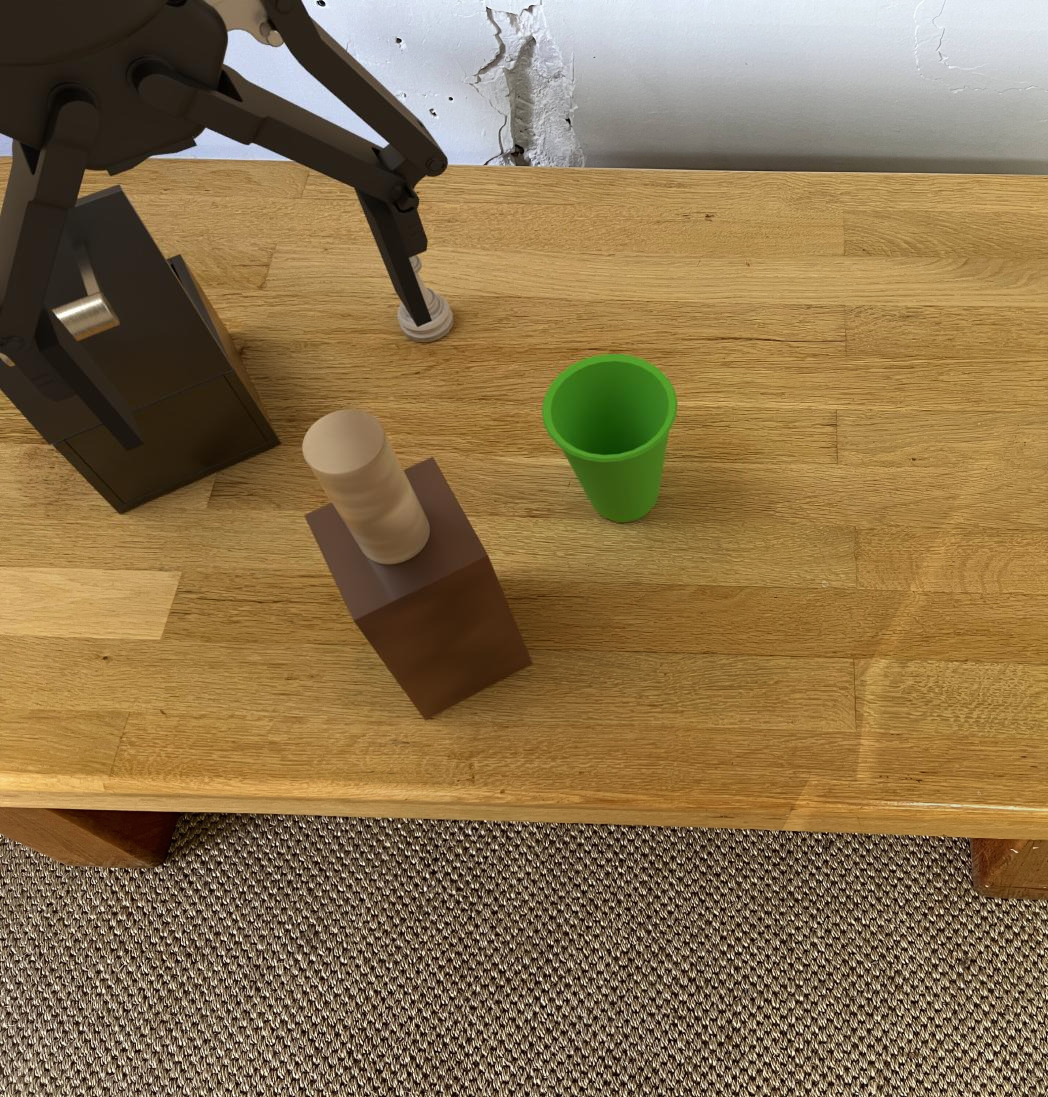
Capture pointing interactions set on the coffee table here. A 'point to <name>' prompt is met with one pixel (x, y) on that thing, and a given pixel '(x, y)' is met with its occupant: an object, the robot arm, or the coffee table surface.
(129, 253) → the handled dark lid
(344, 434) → the tan wooden cylinder
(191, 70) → the robot arm
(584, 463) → the cup
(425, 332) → the chess piece
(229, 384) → the dark boxy piece
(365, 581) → the dark brown rectangular block
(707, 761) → the coffee table surface
